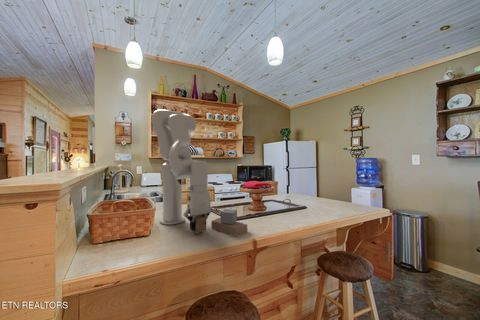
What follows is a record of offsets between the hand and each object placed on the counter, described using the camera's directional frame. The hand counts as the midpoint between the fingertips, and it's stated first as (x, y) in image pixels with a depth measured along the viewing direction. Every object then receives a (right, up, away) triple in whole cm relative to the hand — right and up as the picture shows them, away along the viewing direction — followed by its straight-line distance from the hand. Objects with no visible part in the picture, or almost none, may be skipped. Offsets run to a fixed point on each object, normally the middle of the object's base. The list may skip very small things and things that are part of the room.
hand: (198, 228), depth 101 cm
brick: (+14, -3, +4) cm, 15 cm away
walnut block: (0, -1, 0) cm, 1 cm away
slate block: (+14, +2, +4) cm, 14 cm away
